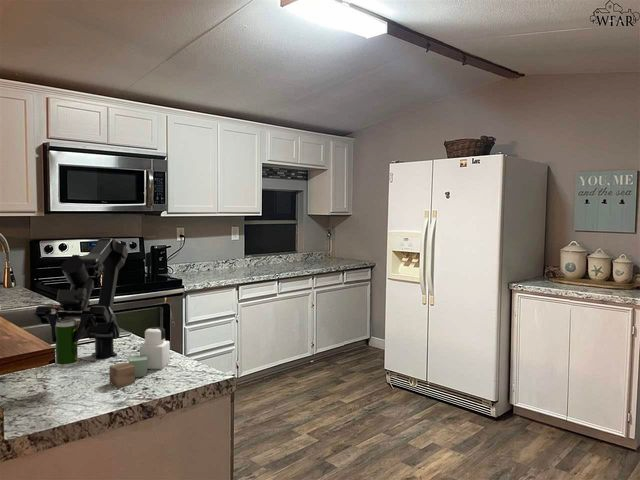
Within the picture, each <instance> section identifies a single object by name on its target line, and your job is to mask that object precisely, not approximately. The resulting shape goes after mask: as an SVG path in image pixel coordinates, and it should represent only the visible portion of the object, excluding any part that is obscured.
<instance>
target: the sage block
mask: <svg viewBox="0 0 640 480" xmlns="http://www.w3.org/2000/svg"><path fill="white" fill-rule="evenodd" d="M128 363H129V364H131V365H134V366H135V378H140V377H148V369H147V357H146V355H140V354H139V355H132V356H130V355H129V356H128Z"/></svg>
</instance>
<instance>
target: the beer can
mask: <svg viewBox="0 0 640 480" xmlns="http://www.w3.org/2000/svg"><path fill="white" fill-rule="evenodd" d="M77 329H78V322H77V320H76V318H61V319H60V320H58V321H56V325H55V364H56V366H58V367H60V368H62V367H64V368H65V367H66V368H67V367H72V366H74V365H76V364H77V363H78V361H79V360H78V359H79V357H78V355H79V354H78V353H79V351H78V342H75V341H74V339H75V335H76V332H77Z"/></svg>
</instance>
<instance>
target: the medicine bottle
mask: <svg viewBox="0 0 640 480" xmlns="http://www.w3.org/2000/svg"><path fill="white" fill-rule="evenodd" d="M170 344H171V343H170V341H169V340H166V329H165V328H163V327H161V326H152V327H148V328H146V329H145V330H144V343H143V344H142V345H140V346H139V356H140V355H146V357H147V370H162V369H164V368H165V367H166V366H168V365H169V363H170V357H171V356H170V355H171V352H170V351H171V349H170Z"/></svg>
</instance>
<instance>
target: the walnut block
mask: <svg viewBox="0 0 640 480" xmlns="http://www.w3.org/2000/svg"><path fill="white" fill-rule="evenodd" d="M132 383H133V384H135V383H136V377H135V366H134V365H131V364H129V362H126V361H125V362H121V363H118V364H117V363H116V364H113V365H109V384H110V385H112V384H113V386H114V385H115V386H114V387H115V388H121V387H125V385H126V386H130V385H132Z"/></svg>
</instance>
